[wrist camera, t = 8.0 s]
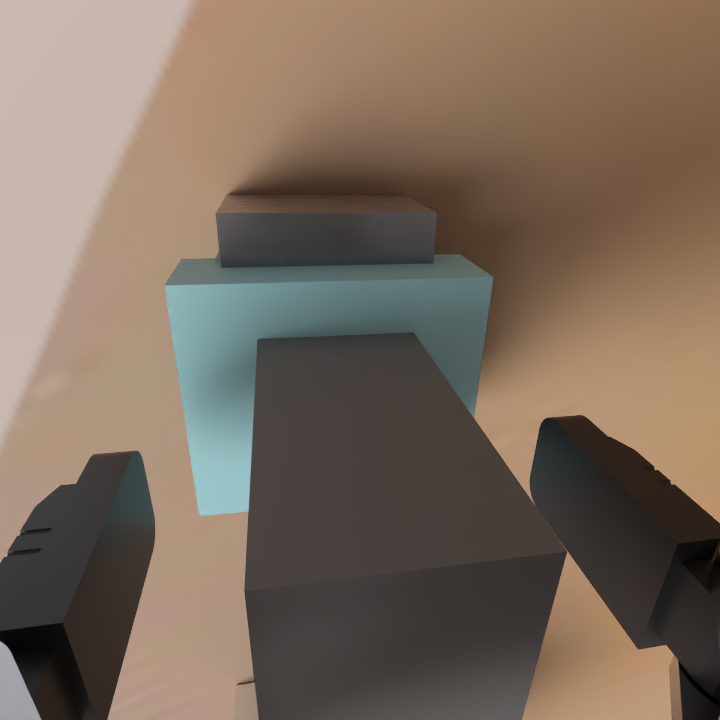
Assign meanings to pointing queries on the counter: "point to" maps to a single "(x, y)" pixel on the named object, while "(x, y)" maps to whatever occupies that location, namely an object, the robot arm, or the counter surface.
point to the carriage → (364, 487)
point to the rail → (324, 230)
